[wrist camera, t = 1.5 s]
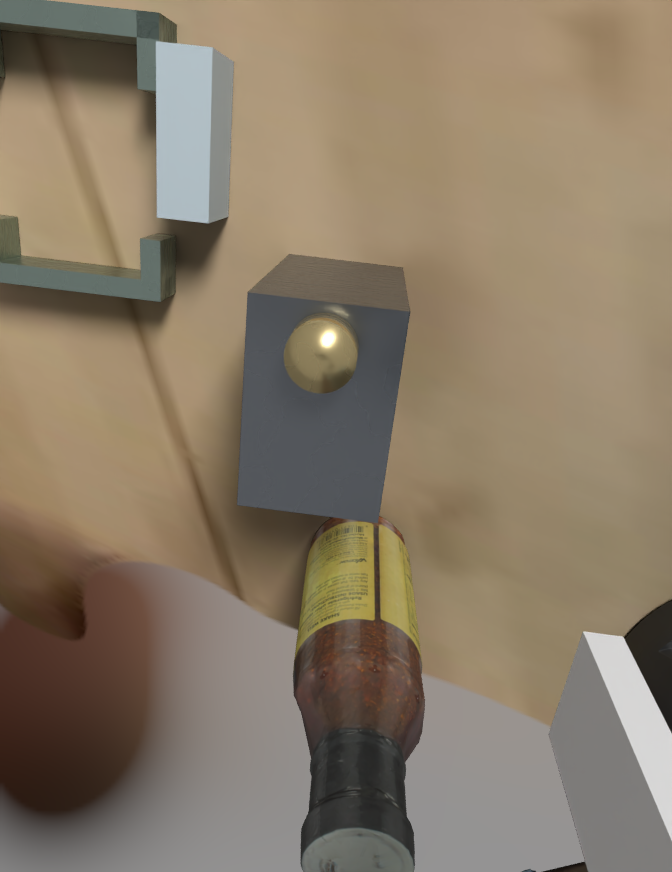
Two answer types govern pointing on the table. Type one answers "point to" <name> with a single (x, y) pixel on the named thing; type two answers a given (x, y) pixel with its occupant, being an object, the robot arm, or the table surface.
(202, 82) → the light grey rectangular block
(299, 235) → the table surface
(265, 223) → the table surface
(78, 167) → the table surface
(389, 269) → the grey box with knob
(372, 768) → the sauce bottle
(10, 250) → the socket
